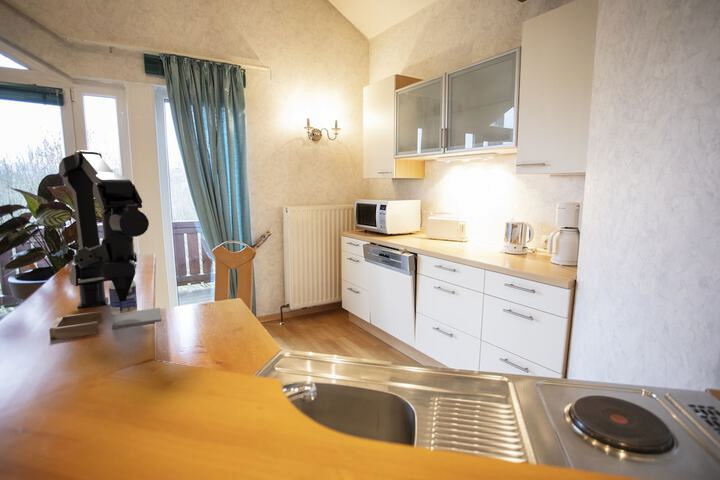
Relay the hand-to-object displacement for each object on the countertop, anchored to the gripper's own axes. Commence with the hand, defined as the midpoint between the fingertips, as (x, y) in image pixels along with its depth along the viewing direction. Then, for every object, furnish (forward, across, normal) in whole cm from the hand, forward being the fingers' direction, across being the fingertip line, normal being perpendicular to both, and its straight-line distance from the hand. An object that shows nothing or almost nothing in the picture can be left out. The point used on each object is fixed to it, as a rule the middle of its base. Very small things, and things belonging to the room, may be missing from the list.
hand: (123, 298), depth 87 cm
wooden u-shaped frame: (+6, 0, -8) cm, 11 cm away
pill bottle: (+4, 0, 0) cm, 4 cm away
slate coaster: (+6, -2, +2) cm, 7 cm away
